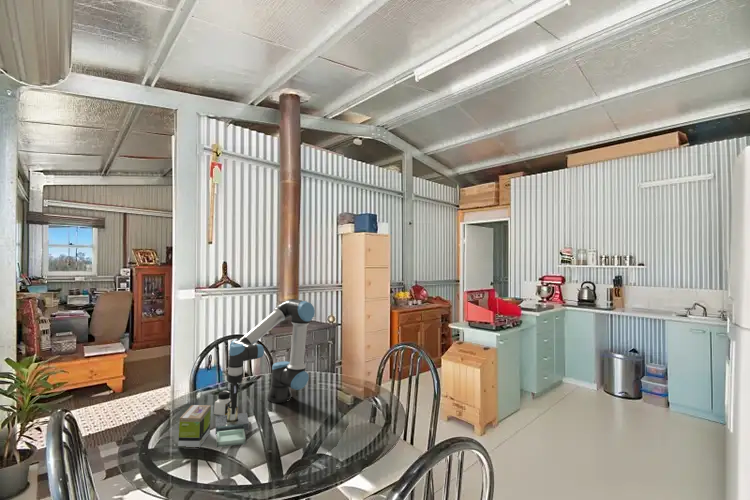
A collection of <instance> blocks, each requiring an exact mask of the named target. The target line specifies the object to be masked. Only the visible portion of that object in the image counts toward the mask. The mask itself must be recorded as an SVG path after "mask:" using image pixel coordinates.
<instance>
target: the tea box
mask: <svg viewBox="0 0 750 500" xmlns="http://www.w3.org/2000/svg"><path fill="white" fill-rule="evenodd" d="M211 414H212V405H210V404H203V405H201V404H191V405H190V406H189V408H188V409H187V410H185V412H184V413H183V414H182V415H181V416H180V417H179V420H178V421H179V423H178V439H177V440H178V442H177V447H178V446H186V447H199V448H201V446H202V445H201V444H204V442H205V440H206V439H207V438H208V436H209V435H210V433H211V419H212V418H211V416H212V415H211ZM206 437H207V438H206ZM203 441H204V442H203ZM200 445H201V446H200Z"/></svg>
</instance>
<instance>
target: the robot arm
mask: <svg viewBox="0 0 750 500" xmlns="http://www.w3.org/2000/svg"><path fill="white" fill-rule="evenodd" d="M314 317H315V307H314V305H313V303H311V302H309V301H307V300H302V299H301V300H300V299H296V298H290V299H287V300H284V301H283V302H281V303H280V304H278V305H277V306H276V307H275V308H273V311H272V312H271V313H269V314H268V316H266V317H265V318H264V319H262V320H261V321H260V322H259V323H258V324H256V325H255V326H254V327H253V328H251V330H249V331H248V332H247V333H245V335H243V336H242V337H241V338H239V339H236V338H235V339H233V340H232V341H231V342H230V343H229V351H228V366H227V368H226V370H227V382H228V383H230V402H231V403H230V408H231V410H230V420H235V418H236V407H238V406H237V405H238V404H237V403H238V393H239V388H240V387H239V383H241V382H242V381H243V377H244V375H243V373H244V363H245V362H247V361H252V360H257V359H261V358H262V357H263V356H264V354H265V348H264V346H263V345H262V344H260V343H259V344H258V343H257V342H258V341H260V339H262V337H264V336H265V335H266V334H267V333H269V332H270V331H271V330H272V329H273V328H274V327H276V326H277V325H278V324H279V323H281V322H282V321H285V320H286V319H288V318H291V319H290V322H291V324H292V335H291V344H290V345H291V346H290V356H289V361H277V362H274V363H273V364H272V367H271V381H270V383H271V384H270V388H269V390H268V393H267V396H266V397H267V398H266V399H267V401H268V400H269V401H268V402H270V401H271V402H270V403H273V404H282V402H283V403H286V402H285V401H287V400H289V399H291V400H292V398H291V397H293V396H292V395H293V394H292V391H291V390H295V391H299V390H302V389H304V388H305V387H306V385H307V384H308V383H309V378H310V377H309V374H308V372H307V370H306V369H307V368H306V367H307V366H306V364H305V363H304V361H305V353H306V342H307V330H308V326H309V324H310V323H311V321H312V320H313V319H314ZM256 343H257V344H256ZM289 401H290V400H289ZM287 402H288V401H287Z"/></svg>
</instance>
